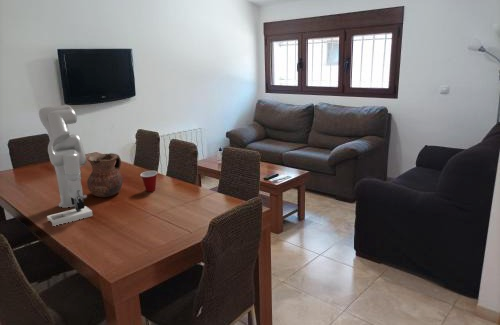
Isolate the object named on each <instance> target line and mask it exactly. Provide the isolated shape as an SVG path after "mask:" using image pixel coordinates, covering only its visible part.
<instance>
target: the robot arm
mask: <svg viewBox="0 0 500 325" xmlns="http://www.w3.org/2000/svg"><path fill="white" fill-rule="evenodd" d="M38 117H39V119H40V122H41V125H43V127H44V129H45V130H46V132H47V134H48V139H49V142H48V144H47V153H48V157H49V160H50V163H51V165H52V166H53V167H54V170H55V173H56V174H55V175H56V180H57V185H58V190H59V197H60V202H59V203H58V207H59V208H61V207H62V209H68V207H70V208H75V204H74V199H75V198H76V199H77V206H78V209H83V208H84V206H85V202H84V199H87V198H88V195H87V194H84V191H83V186H82V181H81V180H82V172H81V167H83V166H85V165H86V163H87V156H86V154H85V150H84V147H83V143H82V139H81V138H80V136H79V135H78V134H74V133H73V134H70V133H71V132H70V130H69V125H74V124H77V122H78V116H77V114H76V111H75V110H74V109H73V108H72V107H71V105H68V104H65V105H52V106H44V107H41V108H40V109H39V110H38ZM77 196H78V197H77ZM78 198H79V200H78Z"/></svg>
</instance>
